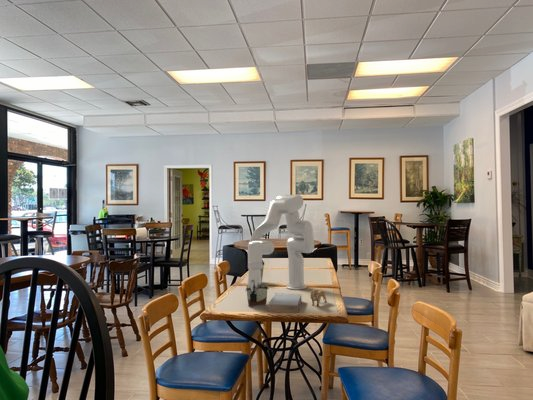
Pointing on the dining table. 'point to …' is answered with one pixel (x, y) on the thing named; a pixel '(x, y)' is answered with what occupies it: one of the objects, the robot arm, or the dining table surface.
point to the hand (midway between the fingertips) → (255, 299)
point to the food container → (258, 295)
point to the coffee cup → (262, 270)
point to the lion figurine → (317, 296)
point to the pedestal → (285, 303)
